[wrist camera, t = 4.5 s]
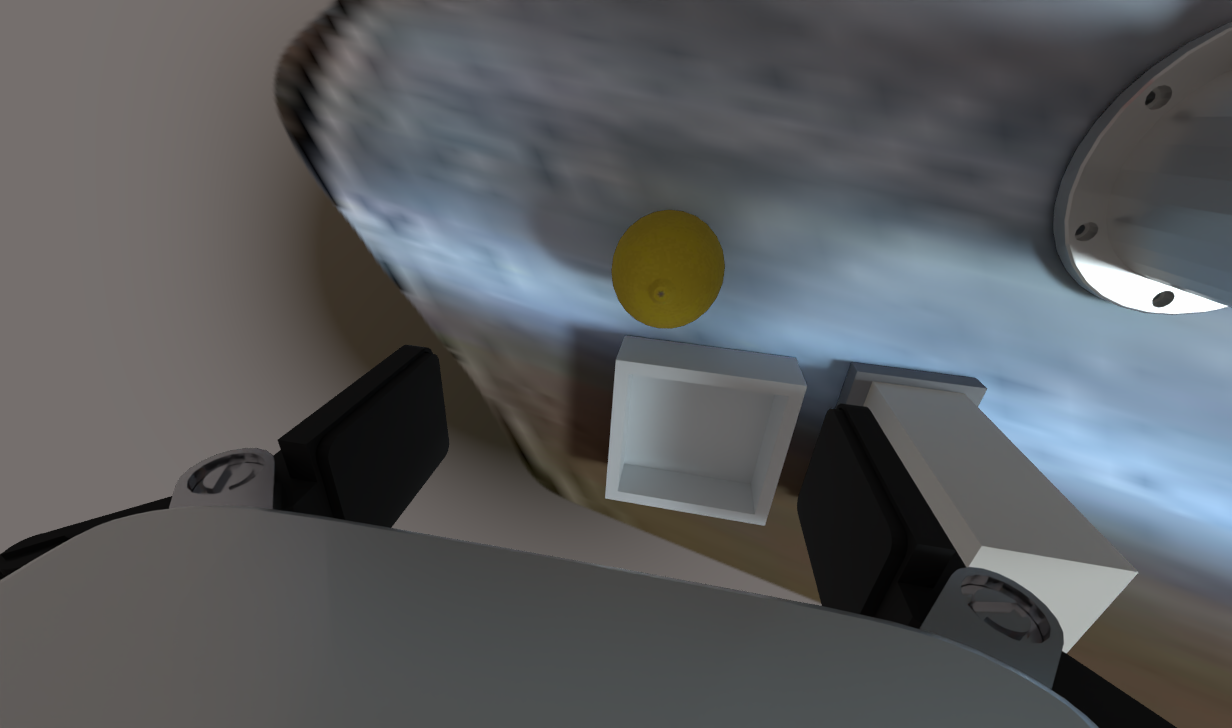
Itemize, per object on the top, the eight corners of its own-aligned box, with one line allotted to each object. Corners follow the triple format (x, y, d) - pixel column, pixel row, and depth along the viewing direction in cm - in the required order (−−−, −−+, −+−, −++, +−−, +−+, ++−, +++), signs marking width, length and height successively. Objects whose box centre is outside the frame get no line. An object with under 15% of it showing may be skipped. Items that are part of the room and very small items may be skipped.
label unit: (851, 362, 28) (957, 530, 16) (976, 378, 27) (1180, 567, 16) (804, 498, 33) (859, 700, 21) (907, 515, 32) (1022, 734, 21)
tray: (624, 335, 30) (615, 359, 26) (796, 357, 28) (807, 386, 25) (613, 464, 34) (605, 498, 31) (758, 488, 33) (764, 525, 30)
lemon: (713, 188, 25) (718, 214, 18) (727, 287, 27) (736, 344, 20) (614, 211, 26) (582, 243, 19) (635, 303, 28) (613, 361, 21)
